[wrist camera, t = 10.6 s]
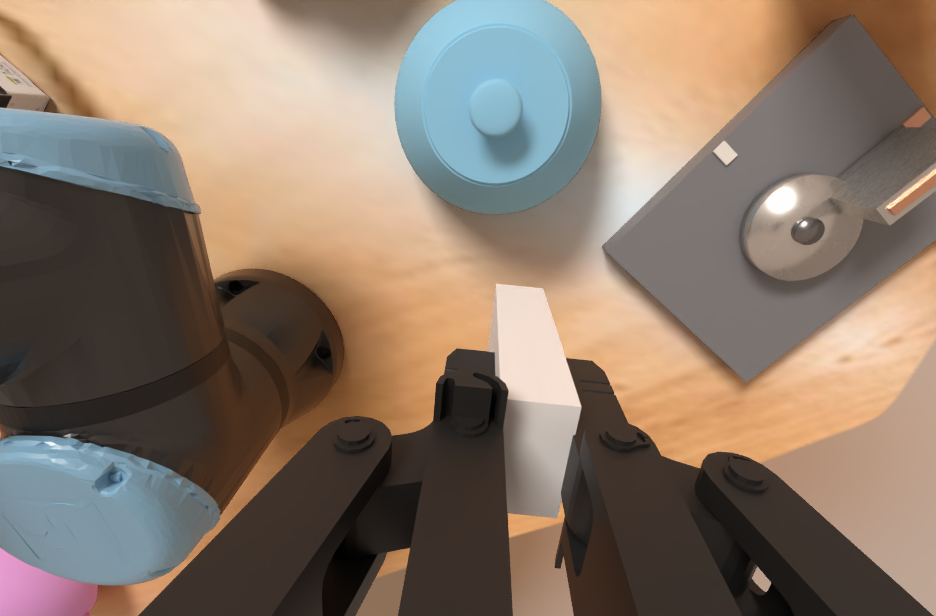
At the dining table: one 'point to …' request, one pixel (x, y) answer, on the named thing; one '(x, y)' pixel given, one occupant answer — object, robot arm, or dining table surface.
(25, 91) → the tea box
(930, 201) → the board
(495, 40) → the sugar bowl
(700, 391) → the dining table surface
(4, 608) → the teapot
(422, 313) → the dining table surface
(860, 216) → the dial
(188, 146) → the dining table surface
